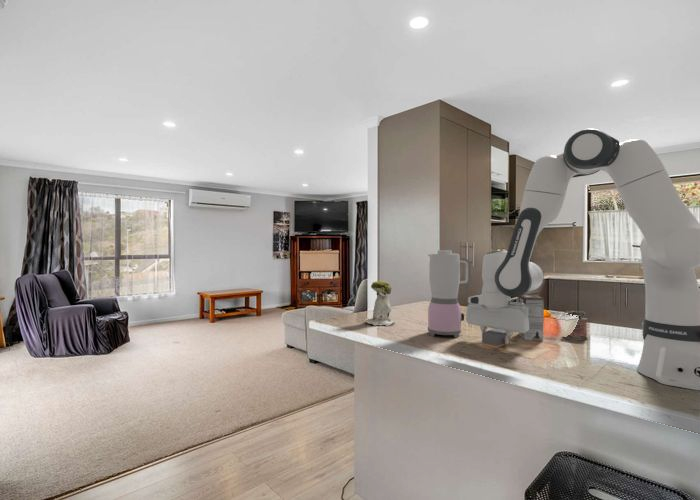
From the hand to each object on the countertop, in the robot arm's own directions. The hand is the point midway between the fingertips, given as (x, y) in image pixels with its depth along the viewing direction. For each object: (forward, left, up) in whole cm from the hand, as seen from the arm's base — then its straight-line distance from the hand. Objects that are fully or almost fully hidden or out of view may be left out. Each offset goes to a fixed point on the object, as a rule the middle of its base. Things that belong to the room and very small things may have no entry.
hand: (496, 341), depth 122 cm
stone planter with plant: (+52, 0, -3) cm, 52 cm away
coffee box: (-4, -18, -3) cm, 18 cm away
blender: (+21, -5, -2) cm, 22 cm away
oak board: (-4, 0, -2) cm, 4 cm away
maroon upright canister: (-13, -34, -3) cm, 36 cm away
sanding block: (0, 0, -1) cm, 1 cm away
